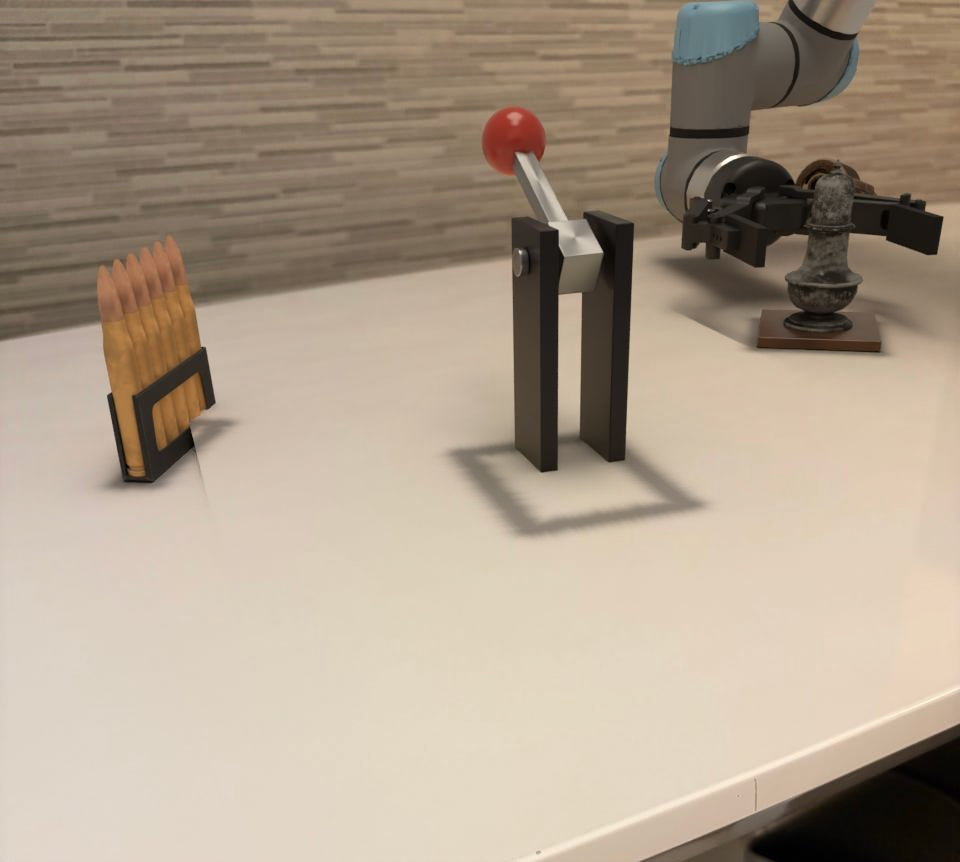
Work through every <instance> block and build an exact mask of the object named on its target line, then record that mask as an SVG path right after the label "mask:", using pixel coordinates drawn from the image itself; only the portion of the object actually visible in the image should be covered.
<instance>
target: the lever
mask: <svg viewBox="0 0 960 862" xmlns="http://www.w3.org/2000/svg"><path fill="white" fill-rule="evenodd" d="M546 145H547V138H546V131H545V128H544V125H543V124H542V121H541V120H540V119H539V117H538V116H537V114H535V113H534V112H533V111H531V110H530V109H528V108H526V107H524V106H519V105H510V106H506V107H503V108H500V109H498V110H497V111H496V112H494V113H493V114H492V115H491V116H490V117H489V118H488V120H487V122H486V123H485V125H484V127H483V131H482V134H481V149H482V153H483V156H484V159H485V161H486V162H487V164H488V165H489V166H490V168H492V170H494V171H496V172H497V173H498V174H500V175H502V176H506V177H514V178H515V177H516V179H517V181H518V183H519V185H520V187H521V189H522V191H523V193H524V195H525V197H526V199H527V201H528V204H529V206H530V208H531V209H532V212H533V214H534V216H535V219H536V220H537V221H540V222H542V223H544V224H547V225H549V226H551V227H553V228H556V229H558V230H559V296H562V295H571V294H582V292H592V291H595V288H596V284H597V280H598V276H599V272H600V268H601V264H602V260H603V256H604V252H603V250H602V248H601V246H600V244H599V242H598V240H597V238H596V236H595V235H594V233H593V231H592V229H591V227H590V225H589V223H588V221H587V219H583V218H579V219H578V218H577V219H569V218H568V216H567V214H566V212H565V211H564V209H563V207H562V205H561V203H560V201H559V199H558V197H557V195H556V192H555V191H554V189H553V188H552V186H551V183H550V181H549V179H548V178H547V175H546V173H545V172H544V170H543V167H542V165H541V164H540V163H541V161H542V158H543V156H544V155H545V151H546Z"/></svg>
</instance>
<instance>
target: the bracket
mask: <svg viewBox="0 0 960 862" xmlns="http://www.w3.org/2000/svg"><path fill="white" fill-rule="evenodd" d="M582 219H587V221H588V223H589V225H590V227H591V229H592V231H593V233H594V235H595V236H596V238H597V240H598V242H599V244H600V246H601V248H602V250H603V252H604V256H603V260H602V264H601V268H600V272H599V276H598V280H597V284H596V288H595V291H592V292H582V293H581V321H580V322H581V329H580V331H581V333H580V334H581V335H580V389H579V390H580V391H579V392H580V395H579V396H580V397H579V400H580V401H579V439H580V440H582V441H583V442H584V443H585V444H586V445H588V446H589V447H590V448H591V449H592V450H593V451H595V452H596V453H597V454H598V455H599V456H601V457H602V458H603V459H604V460H605V461H606V462H608V463H614V462H622V461H626V446H627V424H628V423H627V421H628V399H629V398H628V397H629V372H630V371H629V369H630V345H631V344H630V343H631V342H630V341H631V321H632V320H631V317H632V290H633V267H634V266H633V264H634V243H635V242H634V239H635V223H634V222H632V221H629V220H627V219H624V218H621V217H619V216H616V215H613V214H610V213H608V212H605V211H602V210H599V209H598V210H597V209H596V210H587V211H583V213H582ZM510 225H511V270H512V271H511V282H512V283H511V284H512V286H511V287H512V290H511V291H512V338H513V340H512V343H513V348H512V349H513V351H512V352H513V353H512V354H513V399H514V400H513V403H514V404H513V405H514V406H513V409H514V411H513V413H514V415H513V416H514V448H515V449H516V450H518V451H519V453H520V454H521V455H523V456H524V457H525V459H527V461H528V462H530V463H531V464H532V465H533V467H534V468H535V469H537V470H538V471H539V473H543V474H544V473H550V472H556V471H558V470H559V465H558V464H559V313H560V312H559V311H560V310H559V308H560V307H559V305H560V304H559V303H560V302H559V301H560V300H559V299H560V297H559V296H560V295H559V230H558V229H556V228H553V227H551V226H549V225H547V224H544V223H542V222H540V221H538V220H537V219H536V218H532V217H530V216H527V215H526V216H517V217H512V218H511V224H510Z"/></svg>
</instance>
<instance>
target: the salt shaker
mask: <svg viewBox="0 0 960 862" xmlns="http://www.w3.org/2000/svg"><path fill="white" fill-rule="evenodd" d="M841 163H842V161H841V160H840V159H839V158H838V159H836V162H835V164H834V165H833V166H834V171H831V172H830V173H829V174H826V175H824V176H822V177H821V178H819V180H818V181H817V182H816V185H815V192H814V201H813V209H812V218H811V221H809V222H808V223H807V224H806V225H804V226H806V228H808V230H809V235H807V244H806V252H805V255H804V258H803V261H802V264H801V266H800V267H799V268H797V269H796V270H793V271H790V272H787V273H786V274H784V281H785V282H786V283H787V292H788V293H787V294H788V296H789V297H788V298H789V301H790V302H791V304H793V306H794V307H795V308H797V309H798V310H804V311H802V312H797V313H794V314H792V315H790V316H789V317H787V318H786V319H784V321H783V323H784V325H785V326H787V327H789V328H792V329H795V330H800V331H806V332H838V331H843V330H847V329H849V328H851V327H852V326H853V323H852V321H851V320H849V319H848V318H847V317H846V316H844V315H842V314H839V313H835V312H836V311H842V310H844V309H845V308H846V307H847V306H849V305H850V304H851V303H852V301H854V299H855V296H856V295H857V293H858V288H859V285H861V284H862V283H863V281H864V278H863V276H862V275H860V274H859V273H856V272H854V271H853V270H852V269H851V268H850V267H849V261H848V251H849V250H848V249H849V242H850V234H851V233H850V231H851V230H852V229H854V228H855V225H854V224H852V223H851V222H850V220H851V213H852V205H853V198H854V191H855V182H854V181H853V179H852V178H851V177H850V176H849V175H846V174H844V173H843V171H840V168H841V166H843V165H841Z"/></svg>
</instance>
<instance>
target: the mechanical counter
mask: <svg viewBox="0 0 960 862" xmlns="http://www.w3.org/2000/svg"><path fill="white" fill-rule="evenodd" d="M836 161H837V159H834V158H830V157H821V158H817V159H815V160H812V161H811V162H809V163H808V164H806V165H805V167H803V169H802V170H801V171H800V173H799V174H798V176H797V178H796V180H795V185H796V186H800V187H801V188H802V189H807V190H815V185H816V182H817V181H818V180H819V178H821V177H822V176H824V175H826V174H829V173H830V172H831V171H834V166H833V165H834V164H835V162H836ZM841 165H843V166H841V168H840V171H843V173H844V174H846V175H849V176H850V177H851V178H852V179H853V181H854V182H855V191H854V193H859V194H868V195H876V196H878V194H877V193H876V191H875V187H874V185H872V184H870V183H868V182H865V181H863V180H861V178H860V175H859V173H858V172H857V171H856V170H855V169H854V168H853V167H851V166H849V165H847V164H845V163H843V162H841Z"/></svg>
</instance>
